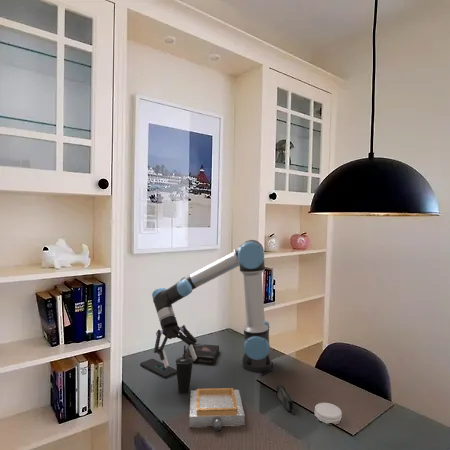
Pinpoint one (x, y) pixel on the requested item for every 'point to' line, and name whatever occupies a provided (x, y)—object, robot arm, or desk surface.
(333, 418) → the coaster
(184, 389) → the drinking cup
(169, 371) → the smart home device
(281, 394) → the mobile phone
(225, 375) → the desk surface
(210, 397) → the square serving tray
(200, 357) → the portable cd player
